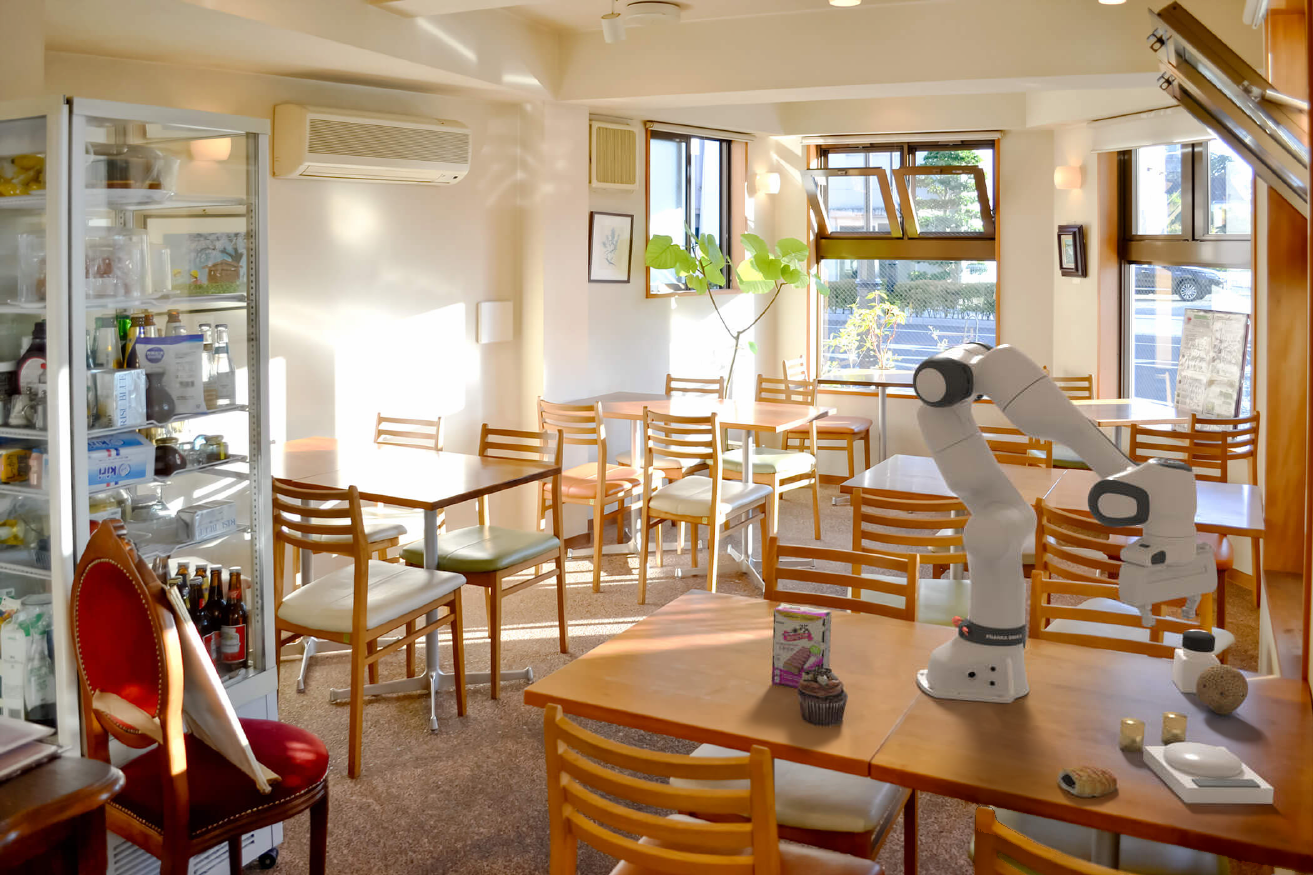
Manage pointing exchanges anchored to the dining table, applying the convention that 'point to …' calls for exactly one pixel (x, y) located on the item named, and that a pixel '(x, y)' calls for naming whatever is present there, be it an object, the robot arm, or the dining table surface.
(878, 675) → the dining table surface
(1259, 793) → the scale
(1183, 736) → the cylinder
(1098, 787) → the pastry
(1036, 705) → the dining table surface
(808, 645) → the candy bar box
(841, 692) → the cupcake
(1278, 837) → the dining table surface
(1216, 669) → the natural sponge
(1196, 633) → the medicine bottle
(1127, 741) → the cylinder
